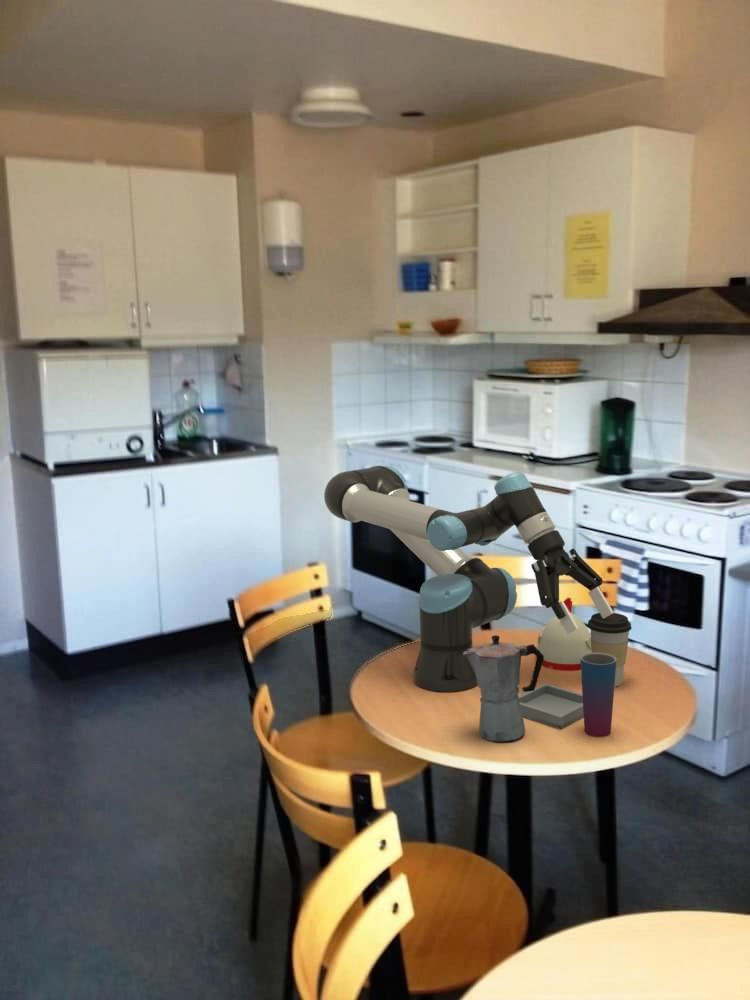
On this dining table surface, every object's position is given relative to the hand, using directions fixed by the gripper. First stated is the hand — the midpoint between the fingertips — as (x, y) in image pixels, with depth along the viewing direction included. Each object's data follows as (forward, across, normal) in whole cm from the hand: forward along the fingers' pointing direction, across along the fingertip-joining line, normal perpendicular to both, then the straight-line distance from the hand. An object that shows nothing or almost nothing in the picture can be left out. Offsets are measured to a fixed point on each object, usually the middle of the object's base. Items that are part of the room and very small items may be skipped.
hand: (591, 623), depth 198 cm
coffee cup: (+12, +9, +11) cm, 18 cm away
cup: (+20, -15, +1) cm, 25 cm away
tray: (+12, -12, +10) cm, 20 cm away
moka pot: (+12, -28, +11) cm, 32 cm away
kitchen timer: (+3, +15, +23) cm, 27 cm away
